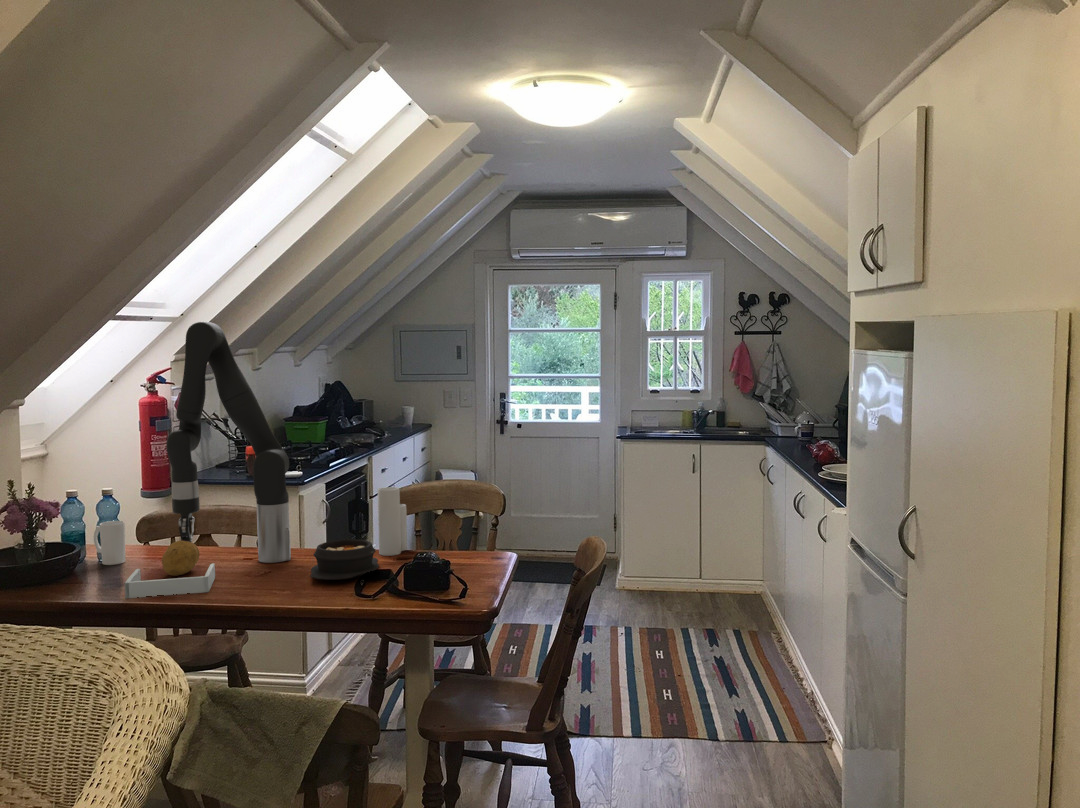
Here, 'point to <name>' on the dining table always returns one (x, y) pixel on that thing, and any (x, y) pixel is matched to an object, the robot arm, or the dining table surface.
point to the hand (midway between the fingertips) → (187, 553)
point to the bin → (168, 585)
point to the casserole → (344, 559)
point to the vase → (391, 522)
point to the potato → (180, 558)
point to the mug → (111, 542)
